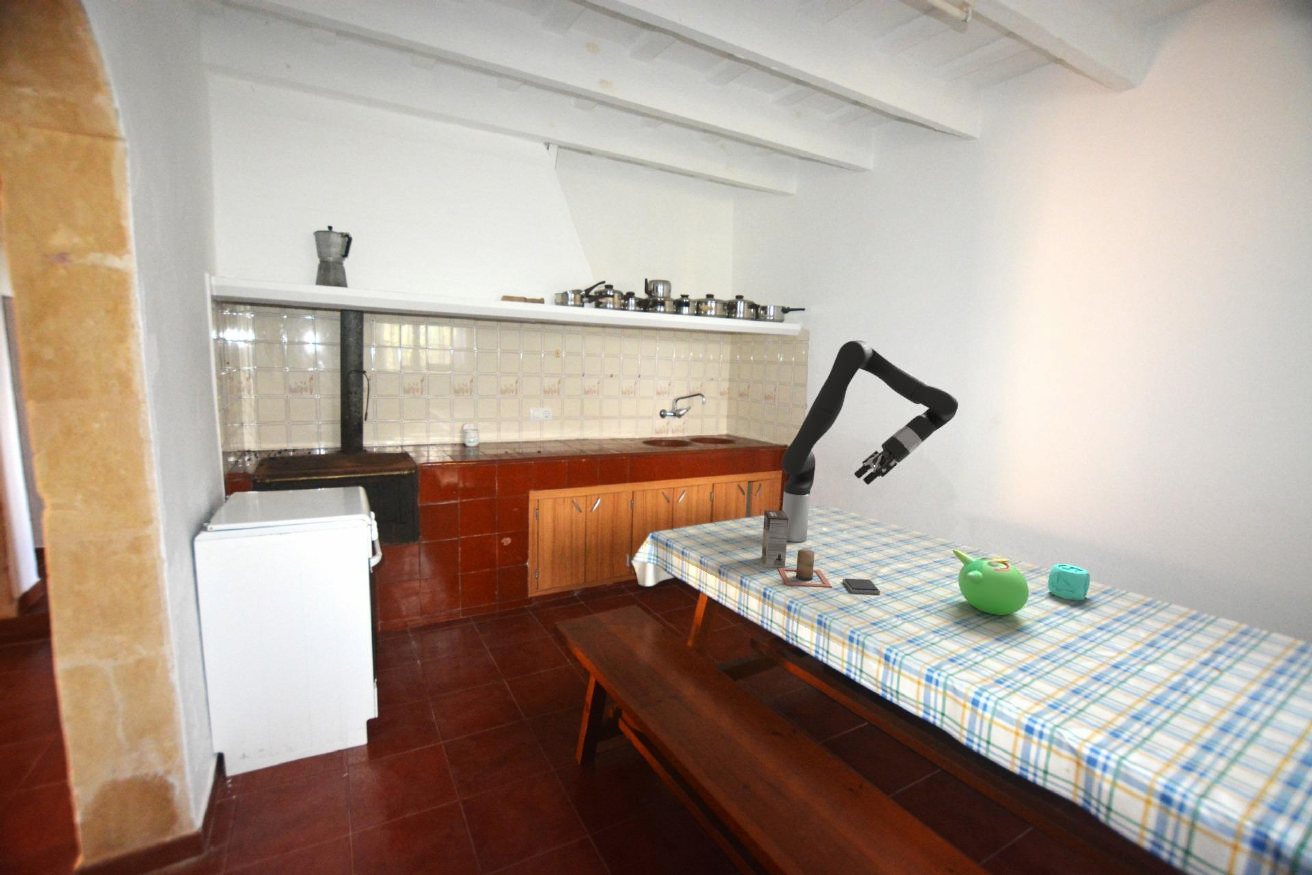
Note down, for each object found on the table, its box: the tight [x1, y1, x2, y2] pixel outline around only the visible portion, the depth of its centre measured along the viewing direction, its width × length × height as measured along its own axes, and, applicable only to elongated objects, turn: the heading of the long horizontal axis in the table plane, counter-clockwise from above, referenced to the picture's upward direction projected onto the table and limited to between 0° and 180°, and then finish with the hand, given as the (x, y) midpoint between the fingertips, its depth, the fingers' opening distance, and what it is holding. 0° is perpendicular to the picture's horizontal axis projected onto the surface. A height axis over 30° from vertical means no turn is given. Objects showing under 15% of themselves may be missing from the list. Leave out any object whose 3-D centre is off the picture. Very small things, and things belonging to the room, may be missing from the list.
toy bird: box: [952, 549, 1030, 616], centre depth 152 cm, size 18×17×15 cm
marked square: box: [777, 567, 832, 588], centre depth 171 cm, size 13×13×1 cm
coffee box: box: [761, 509, 789, 568], centre depth 182 cm, size 9×6×16 cm
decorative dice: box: [1047, 563, 1091, 602], centre depth 165 cm, size 8×8×8 cm
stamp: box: [795, 548, 815, 582], centre depth 170 cm, size 5×5×8 cm
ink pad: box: [842, 578, 881, 595], centre depth 165 cm, size 8×8×1 cm
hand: (860, 479), depth 177 cm, fingers open, 8 cm apart
